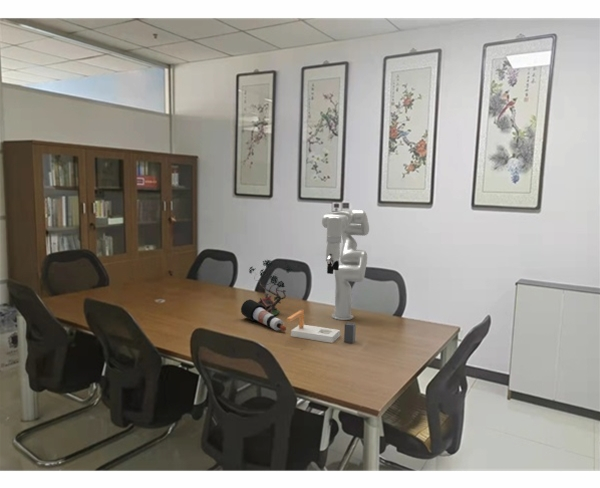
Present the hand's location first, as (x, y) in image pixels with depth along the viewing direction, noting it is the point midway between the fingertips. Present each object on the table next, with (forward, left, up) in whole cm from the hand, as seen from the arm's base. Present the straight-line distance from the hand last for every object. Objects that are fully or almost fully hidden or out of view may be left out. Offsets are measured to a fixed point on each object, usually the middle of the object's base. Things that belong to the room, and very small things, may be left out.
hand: (333, 271), depth 246 cm
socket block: (+15, -3, -32) cm, 36 cm away
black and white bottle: (+8, -36, -32) cm, 49 cm away
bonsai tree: (-19, -49, -32) cm, 61 cm away
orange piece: (+23, -11, -28) cm, 38 cm away
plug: (+15, +15, -32) cm, 39 cm away
